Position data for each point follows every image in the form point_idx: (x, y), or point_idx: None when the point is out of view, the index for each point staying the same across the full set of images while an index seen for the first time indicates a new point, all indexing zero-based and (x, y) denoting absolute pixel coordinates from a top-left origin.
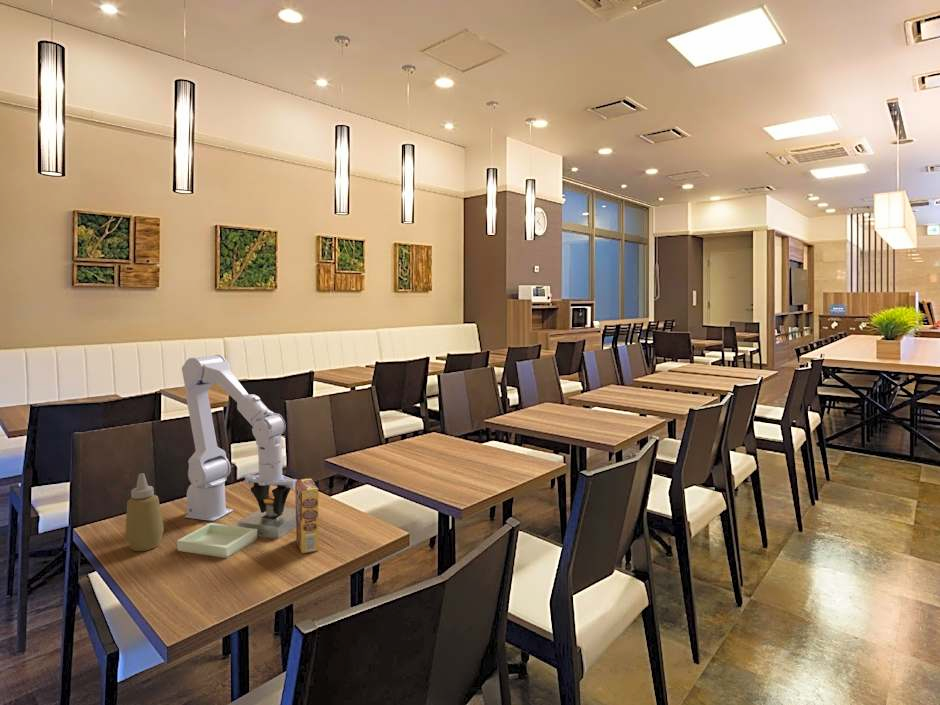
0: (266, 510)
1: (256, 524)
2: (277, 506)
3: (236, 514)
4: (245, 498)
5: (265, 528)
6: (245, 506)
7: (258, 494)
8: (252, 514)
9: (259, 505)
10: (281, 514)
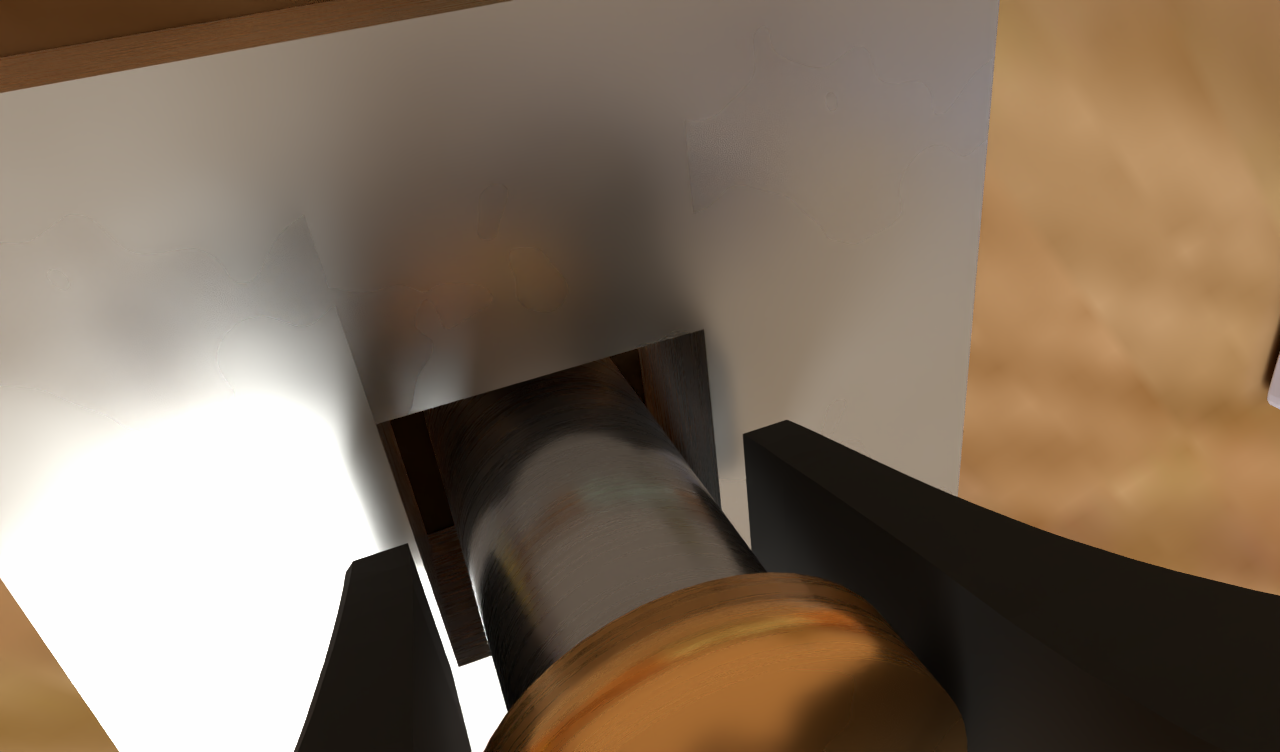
0: (667, 487)
1: (501, 2)
2: (335, 710)
3: (1193, 371)
4: None
5: (211, 42)
6: (1194, 542)
7: (1150, 691)
8: (938, 337)
9: (894, 480)
10: None
